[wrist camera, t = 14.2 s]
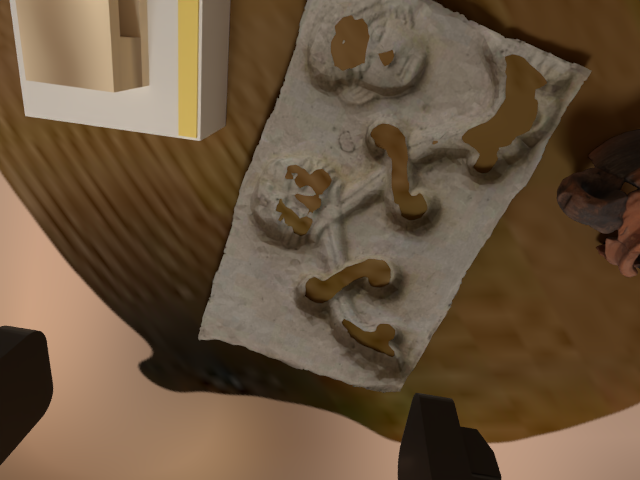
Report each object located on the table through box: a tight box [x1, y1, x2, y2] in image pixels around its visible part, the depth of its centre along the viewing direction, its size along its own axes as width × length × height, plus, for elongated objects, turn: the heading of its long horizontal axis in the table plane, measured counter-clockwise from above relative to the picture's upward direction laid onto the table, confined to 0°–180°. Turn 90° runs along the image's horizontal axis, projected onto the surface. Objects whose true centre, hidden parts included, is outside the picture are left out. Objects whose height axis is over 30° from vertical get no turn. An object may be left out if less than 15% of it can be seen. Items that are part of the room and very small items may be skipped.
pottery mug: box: [557, 129, 640, 277], centre depth 33 cm, size 12×10×8 cm
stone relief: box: [198, 0, 591, 393], centre depth 37 cm, size 32×3×20 cm
